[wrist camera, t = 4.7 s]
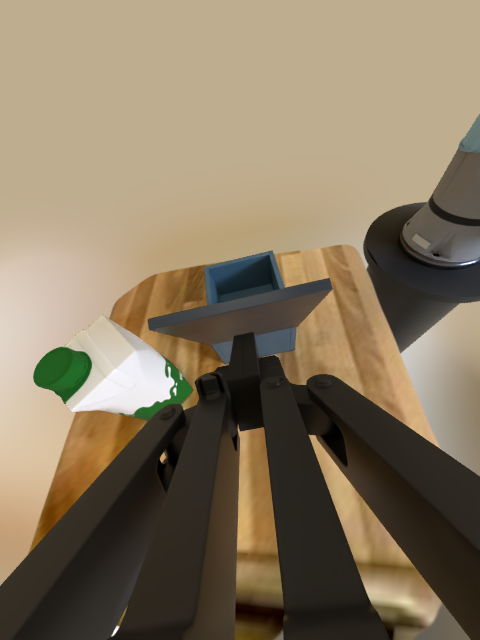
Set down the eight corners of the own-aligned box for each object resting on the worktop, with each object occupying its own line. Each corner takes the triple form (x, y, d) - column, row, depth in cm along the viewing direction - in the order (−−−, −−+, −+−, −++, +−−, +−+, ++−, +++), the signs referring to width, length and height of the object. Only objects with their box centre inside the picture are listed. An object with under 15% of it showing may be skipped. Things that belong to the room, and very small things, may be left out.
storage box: (216, 295, 48) (203, 266, 40) (274, 282, 47) (272, 250, 39) (224, 364, 39) (210, 343, 32) (294, 349, 38) (296, 325, 31)
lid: (147, 318, 15) (148, 330, 15) (329, 277, 14) (333, 289, 14) (208, 339, 32) (209, 345, 31) (296, 321, 31) (297, 326, 30)
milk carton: (133, 397, 39) (16, 357, 22) (171, 359, 42) (92, 297, 25) (161, 433, 35) (46, 419, 18) (201, 389, 38) (132, 339, 21)
